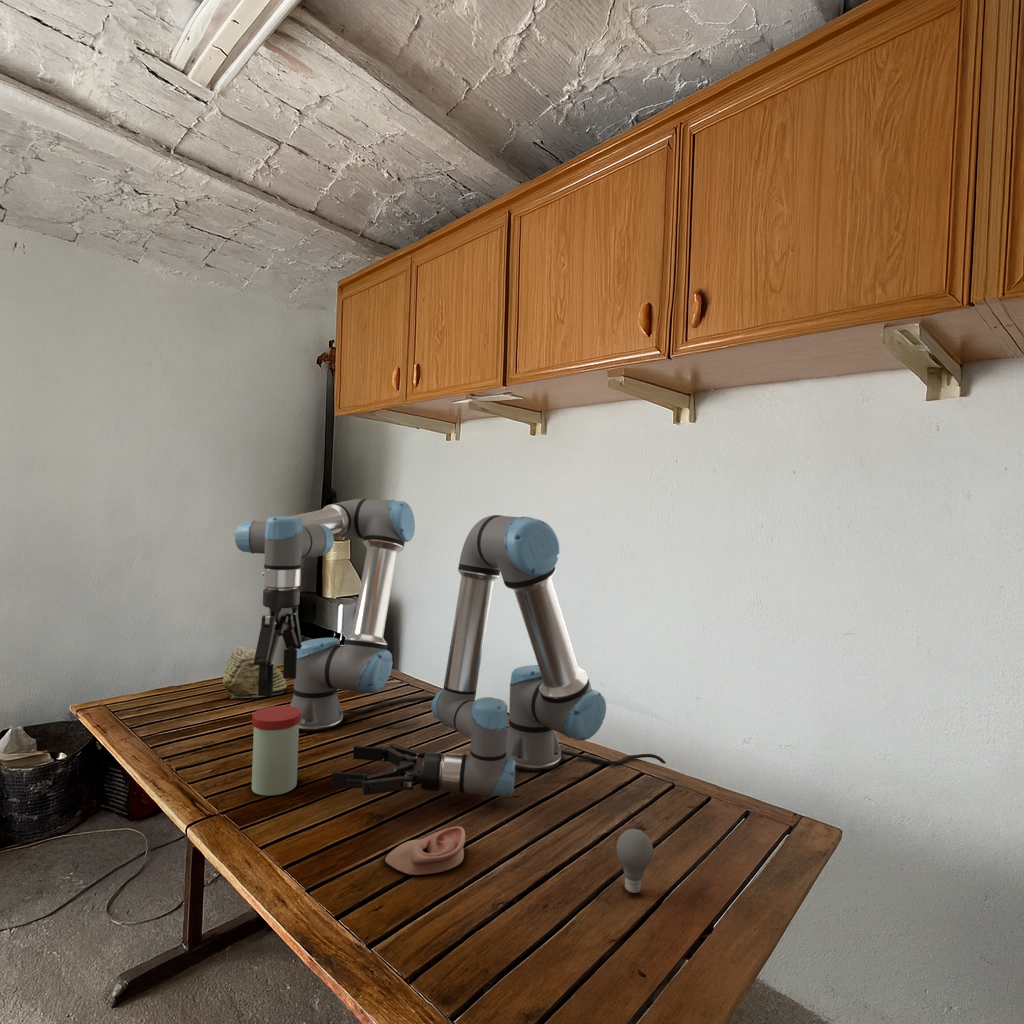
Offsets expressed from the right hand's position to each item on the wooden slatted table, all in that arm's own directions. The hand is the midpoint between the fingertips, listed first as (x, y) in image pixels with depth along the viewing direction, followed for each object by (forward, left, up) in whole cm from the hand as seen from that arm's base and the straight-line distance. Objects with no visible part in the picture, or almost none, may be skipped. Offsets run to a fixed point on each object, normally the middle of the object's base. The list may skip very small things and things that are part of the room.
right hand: (343, 764), depth 135 cm
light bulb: (-43, +47, -6) cm, 64 cm away
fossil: (+20, -74, -6) cm, 77 cm away
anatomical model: (-12, +29, -6) cm, 32 cm away
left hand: (+14, -7, +15) cm, 22 cm away
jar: (+14, -7, -6) cm, 17 cm away
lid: (+14, -7, +9) cm, 18 cm away
